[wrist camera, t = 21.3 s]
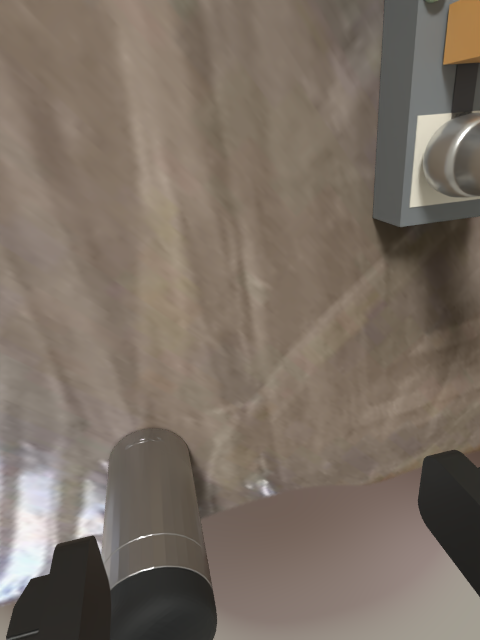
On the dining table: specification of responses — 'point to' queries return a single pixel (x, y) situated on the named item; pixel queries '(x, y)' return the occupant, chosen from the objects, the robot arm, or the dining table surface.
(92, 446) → the dining table surface
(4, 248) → the dining table surface
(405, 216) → the box
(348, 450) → the dining table surface
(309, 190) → the dining table surface
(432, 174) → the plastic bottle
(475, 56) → the lever
